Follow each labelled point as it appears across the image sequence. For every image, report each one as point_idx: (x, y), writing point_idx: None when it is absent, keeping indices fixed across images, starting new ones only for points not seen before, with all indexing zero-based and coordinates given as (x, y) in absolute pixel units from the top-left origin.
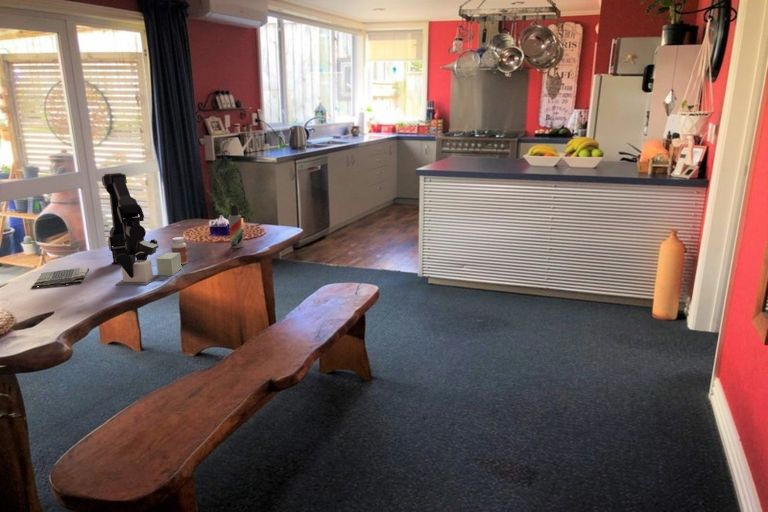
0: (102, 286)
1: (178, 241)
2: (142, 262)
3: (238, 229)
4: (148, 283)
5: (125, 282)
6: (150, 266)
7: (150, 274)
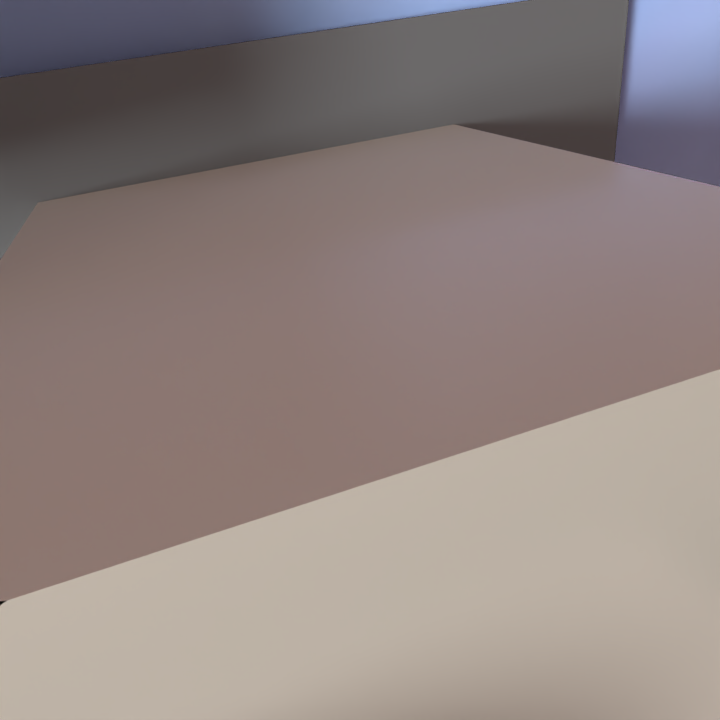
0: None
1: None
2: (584, 657)
3: None
4: (510, 3)
5: None
6: (98, 324)
7: (183, 204)
